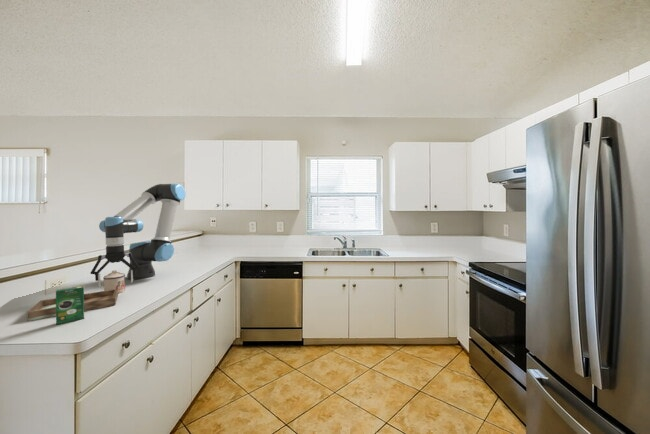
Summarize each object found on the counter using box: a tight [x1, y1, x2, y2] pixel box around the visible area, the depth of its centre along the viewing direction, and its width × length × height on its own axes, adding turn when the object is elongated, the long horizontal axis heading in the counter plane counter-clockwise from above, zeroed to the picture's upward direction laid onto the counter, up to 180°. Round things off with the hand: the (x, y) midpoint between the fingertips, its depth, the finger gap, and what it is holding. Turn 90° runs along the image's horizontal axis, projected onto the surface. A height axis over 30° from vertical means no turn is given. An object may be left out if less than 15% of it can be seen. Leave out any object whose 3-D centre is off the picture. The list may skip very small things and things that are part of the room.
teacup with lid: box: [102, 270, 126, 294], centre depth 138 cm, size 12×9×12 cm
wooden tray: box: [26, 289, 119, 322], centre depth 116 cm, size 27×17×4 cm, turn 126°
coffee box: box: [55, 285, 85, 325], centre depth 101 cm, size 8×3×13 cm, turn 136°
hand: (116, 284), depth 138 cm, fingers open, 13 cm apart
